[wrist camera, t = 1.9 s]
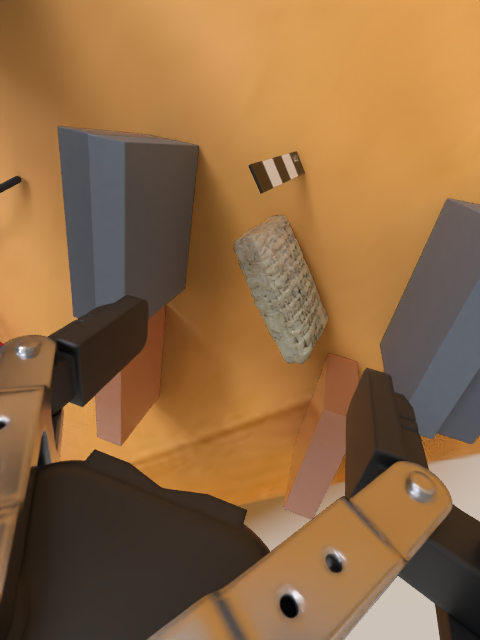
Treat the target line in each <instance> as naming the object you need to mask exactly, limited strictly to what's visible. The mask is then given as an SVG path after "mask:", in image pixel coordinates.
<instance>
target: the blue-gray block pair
mask: <svg viewBox="0 0 480 640" xmlns="http://www.w3.org/2000/svg"><path fill="white" fill-rule="evenodd" d="M58 138H59V150H60V162H61V174H62V185H63V197H64V209H65V221H66V233H67V245H68V257H69V269H70V280H71V292H72V304H73V316H74V317H77V318H80V317H81V316H83V315H86V313H88V312H90V311H91V310H93V309H95V308H96V307H99V306H102V305H106V304H110V303H112V304H113V303H114V302H116V301H117V300H119V299H121V298H122V297H124V296H126V295H130V296H134V297H137V298H140V299H144V300H146V301H148V304H149V317H148V319H149V318H150V317H152V316H153V315H154V314H155V313H156V312H158V311H159V310H160V309H161V308H162V307H163V306H165V305H166V304H167V303H168V302H169V301H171V300H172V299H173V298H174V297H175V296H176V295H178V294H179V293H180V292H181V291H182V290H184V289H185V280H186V270H187V260H188V250H189V240H190V230H191V220H192V210H193V200H194V190H195V180H196V170H197V160H198V150H199V146H198V145H195V144H190V143H185V142H180V141H176V140H169V139H166V138H161V137H157V136H152V135H147V134H139V133H129V132H118V131H108V130H97V129H86V128H76V127H65V126H58ZM380 348H381V353H382V359H383V364H384V370H385V373H386V374H389V375H391V378H392V383H393V388H394V392H396V393H399V394H403V395H404V396H405V398H406V399H407V400H408V402H409V403H410V404H411V406H412V407H413V410H414V414H415V418H416V423H417V425H418V429H419V431H418V433H420V435H421V436H424V437H427V438H430V439H433V438H434V436H435V435H436V433H438V434H441V435H444V436H448V437H451V438H454V439H457V440H460V441H463V442H466V443H469V444H473V443H474V442H475V440H476V439H477V438H478V436H479V435H480V205H478V204H473V203H469V202H464V201H459V200H454V199H450V198H447V200H446V202H445V204H444V206H443V209H442V211H441V213H440V215H439V217H438V219H437V222H436V224H435V226H434V228H433V230H432V232H431V235H430V237H429V239H428V241H427V243H426V246H425V248H424V250H423V252H422V254H421V256H420V259H419V261H418V263H417V265H416V267H415V269H414V272H413V274H412V276H411V278H410V280H409V282H408V285H407V287H406V289H405V291H404V293H403V296H402V298H401V300H400V302H399V304H398V306H397V309H396V311H395V313H394V315H393V317H392V319H391V322H390V324H389V326H388V328H387V330H386V333H385V335H384V337H383V339H382V341H381V343H380Z"/></svg>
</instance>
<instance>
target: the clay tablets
mask: <svg viewBox="0 0 480 640" xmlns="http://www.w3.org/2000/svg"><path fill="white" fill-rule="evenodd" d="M165 310H166V305H165V306H163V307H162V308H161V309H160V310H159V311H158V312H156V313H155V314H154V315H153V316H152V317H150V318H149V319H148V337H147V342H146V344H145V347H144V348H143V350H142V351H141V352H140V353H139V354H138V355H137V356H136V357H135V358H134V359H133V360H132V361H131V362H130V363H129V364H128V365H127V366H125V367H124V368H123V369H122V370H121V371H120V372H119V373H118V374H117V375H116V376H115V377H114V378H113V379H112V380H111V381H110V382H109V383H108V384H106V385H105V386H104V387H103V388H102V389H101V390H100V391H99V392H98V393H97V394H96V395H95V403H96V422H97V437H98V438H100V439H103V440H106V441H108V442H111V443H114V444H116V445H119V446H122V444H123V443H124V442H125V440H126V439H127V438H128V437H129V435H130V434H131V433H132V431H133V430H134V429H135V427H136V426H137V425H138V423H139V422H140V421H141V419H142V418H143V417H144V416H145V414H146V413H147V412H148V410H149V409H150V408H151V406H152V405H153V404H154V402H155V401H156V400H157V399H158V397H159V394H160V380H161V366H162V352H163V338H164V324H165ZM358 384H359V379H358V363H357V361H353V360H350V359H347V358H343V357H340V356H337V355H333V354H330V353H328V355H327V358H326V361H325V364H324V366H323V369H322V372H321V374H320V377H319V380H318V382H317V385H316V388H315V390H314V393H313V396H312V398H311V401H310V404H309V406H308V409H307V412H306V414H305V417H304V420H303V423H302V425H301V428H300V431H299V433H298V436H297V439H296V441H295V445H294V450H293V456H292V462H291V468H290V474H289V479H288V485H287V491H286V497H285V503H284V509H285V510H288V511H291V512H293V513H296V514H299V515H301V516H304V517H306V518H309V519H313V518H314V516H315V514H316V512H317V510H318V508H319V506H320V504H321V502H322V500H323V498H324V496H325V493H326V492H327V490H328V488H329V486H330V484H331V482H332V480H333V478H334V475H335V473H336V471H337V469H338V467H339V465H340V463H341V461H342V459H343V457H344V455H345V453H346V415H347V411H348V407H349V404H350V402H351V399H352V397H353V395H354V393H355V390H356V388H357V386H358Z"/></svg>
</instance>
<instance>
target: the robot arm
mask: <svg viewBox="0 0 480 640" xmlns="http://www.w3.org/2000/svg"><path fill="white" fill-rule="evenodd" d="M148 317H149V304H148V301H146V300H144V299H140V298H137V297H134V296H130V295H126V296H124V297H122V298H121V299H119V300H117V301H116V302H114V303H113V304H112V303H110V304H106V305H102V306H99V307H96V308H95V309H93V310H91V311H90V312H88V313H86V315H83V316H81V317H80V318H78V320H75V321H73V322H71V323H70V324H68V325H66V326H65V327H63V328H61V329H60V330H58V331H56V332H55V333H53V334H52V335H50V336H48V337H46V336H41V335H27V336H22V337H18V338H15V339H12V340H10V341H8V342H6V343H5V344H4V345H3V346H0V640H344V639H345V638H346V637H347V636H348V634H349V633H350V632H351V631H352V630H353V628H354V627H355V626H356V625H357V624H358V622H359V621H360V620H361V619H362V618H363V616H364V615H365V614H366V613H367V612H368V610H369V609H370V608H371V607H372V606H373V605H374V603H375V602H376V601H377V600H378V599H379V597H380V596H381V595H382V594H383V593H384V591H385V590H386V589H387V588H388V587H389V585H390V584H391V583H392V582H393V581H394V579H395V578H396V577H397V576H399V577H401V578H402V579H403V580H405V581H406V582H407V583H409V584H410V585H411V586H412V587H414V588H415V589H417V590H418V591H419V592H420V593H422V594H423V595H424V596H426V597H427V598H428V599H430V600H431V601H432V602H434V603H435V607H436V614H437V621H438V628H439V635H440V640H480V522H479V521H478V520H476V519H474V518H473V517H471V516H469V515H468V514H466V513H465V512H463V511H461V510H460V509H459V508H457V507H456V506H454V505H453V504H452V499H451V496H450V493H449V491H448V490H447V488H446V486H445V485H444V484H443V483H442V481H441V480H440V479H439V478H438V477H437V476H435V474H433V473H432V472H430V471H429V468H428V464H427V461H426V457H425V453H424V449H423V445H422V441H421V437H420V433H418V431H419V429H418V425H417V423H416V418H415V414H414V410H413V407H412V406H411V404H410V403H409V402H408V400H407V399H406V398H405V396H404V395H403V394H399V393H396V392H394V388H393V383H392V378H391V375H389V374H386V373H383V372H379V371H376V370H373V369H369V368H366V369H365V371H364V373H363V375H362V377H361V379H360V381H359V384H358V386H357V388H356V390H355V393H354V395H353V397H352V399H351V402H350V404H349V407H348V411H347V415H346V461H345V496H343V497H341V498H340V499H338V500H336V501H335V502H334V503H333V504H331V505H330V506H329V507H327V508H326V509H325V510H323V511H322V512H321V513H320V514H318V515H317V516H316V517H314V518H313V519H312V520H311V521H309V522H308V523H307V524H305V525H304V526H303V527H302V528H301V529H299V530H298V531H297V532H295V533H294V534H293V535H291V536H290V537H289V538H287V539H286V540H285V541H284V542H282V543H281V544H280V545H279V546H277V547H276V548H275V549H273V550H272V551H271V552H270V550H269V549H268V547H267V546H266V545H265V544H264V543H263V541H262V540H261V539H260V538H259V537H258V536H257V535H256V534H255V533H254V532H253V531H252V530H251V529H249V528H248V527H247V526H246V525H244V524H243V523H244V520H245V516H246V513H247V510H245V509H243V508H241V507H238V506H236V505H233V504H231V503H228V502H226V501H223V500H221V499H218V498H216V497H213V496H210V495H208V494H202V493H194V492H187V491H179V490H171V489H165V488H162V487H160V486H159V485H157V484H156V483H155V482H153V481H152V480H151V479H150V478H148V477H147V476H146V475H144V474H143V473H142V472H140V471H139V470H138V469H137V468H135V467H134V466H133V465H131V464H130V463H128V462H125V461H123V460H120V459H118V458H115V457H113V456H110V455H108V454H105V453H103V452H100V451H98V450H94V451H93V452H92V453H91V454H90V456H89V457H88V458H87V459H86V460H85V461H82V460H70V461H60V462H59V459H60V448H61V437H62V427H63V416H64V410H63V407H64V406H65V405H66V404H67V403H68V402H71V403H73V404H76V405H79V406H81V407H83V406H84V405H85V404H86V403H88V402H89V401H90V400H91V399H92V398H93V397H94V396H95V395H96V394H97V393H98V392H99V391H100V390H101V389H102V388H103V387H104V386H105V385H106V384H108V383H109V382H110V381H111V380H112V379H113V378H114V377H115V376H116V375H117V374H118V373H119V372H120V371H121V370H122V369H123V368H124V367H125V366H127V365H128V364H129V363H130V362H131V361H132V360H133V359H134V358H135V357H136V356H137V355H138V354H139V353H140V352H141V351H142V350H143V348H144V347H145V344H146V342H147V337H148Z"/></svg>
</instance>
